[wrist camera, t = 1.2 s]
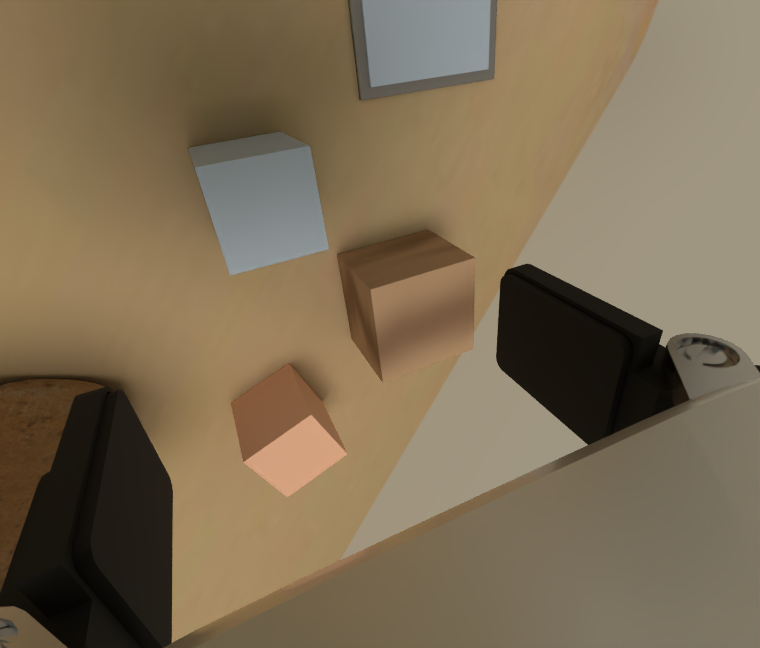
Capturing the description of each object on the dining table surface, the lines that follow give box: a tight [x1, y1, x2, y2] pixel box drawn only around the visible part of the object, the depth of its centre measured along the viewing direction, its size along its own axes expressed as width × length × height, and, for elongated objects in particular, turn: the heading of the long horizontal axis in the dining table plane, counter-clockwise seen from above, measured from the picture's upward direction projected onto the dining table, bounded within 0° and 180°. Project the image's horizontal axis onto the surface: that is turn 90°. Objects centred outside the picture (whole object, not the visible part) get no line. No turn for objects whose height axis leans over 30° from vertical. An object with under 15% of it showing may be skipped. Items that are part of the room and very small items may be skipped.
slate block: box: [188, 132, 329, 275], centre depth 22 cm, size 5×5×6 cm
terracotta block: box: [231, 363, 347, 497], centre depth 30 cm, size 5×5×6 cm
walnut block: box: [337, 230, 475, 383], centre depth 29 cm, size 7×7×6 cm
